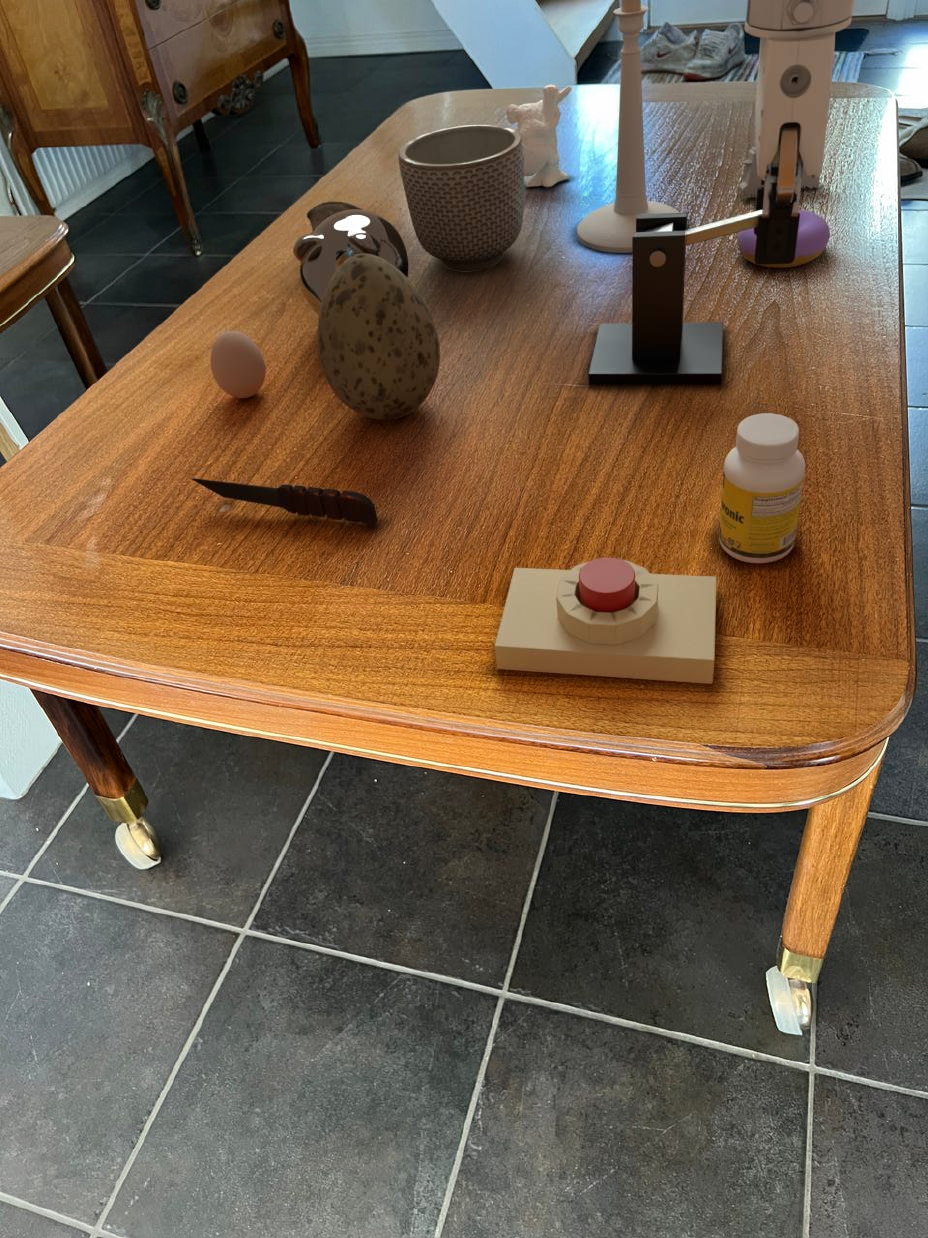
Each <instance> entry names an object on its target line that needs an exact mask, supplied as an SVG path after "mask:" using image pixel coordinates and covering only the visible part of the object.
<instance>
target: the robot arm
mask: <svg viewBox="0 0 928 1238" xmlns="http://www.w3.org/2000/svg"><path fill="white" fill-rule="evenodd" d="M854 2H855V0H746V7H745V21H744V31H745V33H747V34H749V35H750V36H752V37H756V38H760V39H759V52H758V64H757V78H756V92H755V93H756V94H755V113H754V114H755V116H754V117H755V118H754V129H755V130H754V140H755V141H754V142H755V147H756V159H757V173H758V176H759V177H760V178H761V186H764V187H758V189H757V197H756V200H755V201H756V202H755V211H758V210H762V214H759V215H758V226H757V227H756V228H754V234H755V235H757V237H756V247H755V263H756V264H755V265H757V264H759V265H758V266H760V264H791V263H792V262H793V261H794V259H795V252H796V244H797V236H798V228H799V219H800V213H798V210H800V209H799V208H800V199H801V188H802V185H801V180H802V169H803V165H804V169H805V172H806V175H812V178H817V177H818V176H819V175H820V176H821V174H822V173H823V167H824V156H825V146H826V138H827V137H826V136H827V129H828V120H829V111H830V110H829V109H830V104H831V103H830V102H831V101H830V100H831V94H832V83H833V75H834V73H833V72H834V63H835V47H836V33H837V32H840V31H842V30H844V29H846V28H848V27H849V26H850V25H851V23H852V17H853V11H854ZM796 166H797V170H796ZM795 173H796V174H795Z"/></svg>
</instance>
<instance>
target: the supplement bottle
mask: <svg viewBox="0 0 928 1238" xmlns="http://www.w3.org/2000/svg"><path fill="white" fill-rule="evenodd" d="M799 437H800V427H799V425H798V423H797V422H795V421H794V420H793V419H792V418H790V417H788V416H785V415H782V414H778V413H771V412H768V413H767V412H766V413H763V412H762V413H757V414H752V415H750V416H747V417H745V418H744V419H742V420H741V421H740V422H739V423H738V426H737V429H736V439H735V446H734V447H733V448H732V449H731V450H730V451H729V452H728V454H727V455H726V457H725V459H724V462H723V463H724V464H723V471H722V472H723V473H722V488H721V489H722V490H721V500H720V501H721V503H720V516H719V517H720V518H719V525H718V527H719V528H718V540H719V544H720V546H721V548H722V549H723V550H724V552H725V553H726V554H728V555H729V556H730V557H732V558H734V559H736V560H738V561H741V562H745V563H750V564H766V563H768V564H769V563H772V562H776V561H779V560H781V559H783V558H784V557H786V556H788V554H789V553H791V551H792V549H793V548H794V545H795V543H796V537H797V536H796V535H797V531H798V524H799V515H800V509H801V502H802V494H803V487H804V481H805V476H806V475H805V474H806V460H805V458H804V456H803V454H802V453H801V451H799V449H798V445H799V439H800V438H799Z"/></svg>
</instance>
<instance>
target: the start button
mask: <svg viewBox="0 0 928 1238" xmlns="http://www.w3.org/2000/svg"><path fill="white" fill-rule="evenodd" d="M624 560H625V559H621V558H618V557H613V556H612V557H611V556H605V557H598V558H595V559H592V560H590V562H589V561H587V562H588V563H586V562H585V563H586V564H585V565H584V566H583V567H582V569H581V570H580V573H579V592H580V599H581V601H582V603H583V604H584V605H585V606H586V607H587V608H589V609H591V610H593V611H596V612H606V613H613V612H617V611H620V610H623V609H625V608H626V607H628V606H629V605H630V604H631V603H632V602H633V600H634V597H635V572H634V569H633V568H632V566H631V565H630V564H629V563H627V562H626V561H624Z"/></svg>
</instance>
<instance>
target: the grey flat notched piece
mask: <svg viewBox="0 0 928 1238" xmlns="http://www.w3.org/2000/svg"><path fill="white" fill-rule="evenodd" d="M747 155H748V156H747V159H745V160H744V161H741V162H740V164H742V165H745V172H744V178H743V181H742V182H740V184H738V189H739V190H740V192H741V193H742V194H743V195H745V196H747V197H751V198H756V199H757V189H758V187H764V186H761V178H760V177H759V176H758V173H757V159H756V146H752V147H751V149H749V150H748V154H747ZM796 170H797V166H796ZM795 174H796V173H795ZM820 178H821V174H820V175H819V176H818V177H817V178H812V175H806V172H805V169H804V165H803V169H802V180H801V186H805V187H806V188H809V189H811V190H812V189H813V188H814V189H819V185H820Z"/></svg>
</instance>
